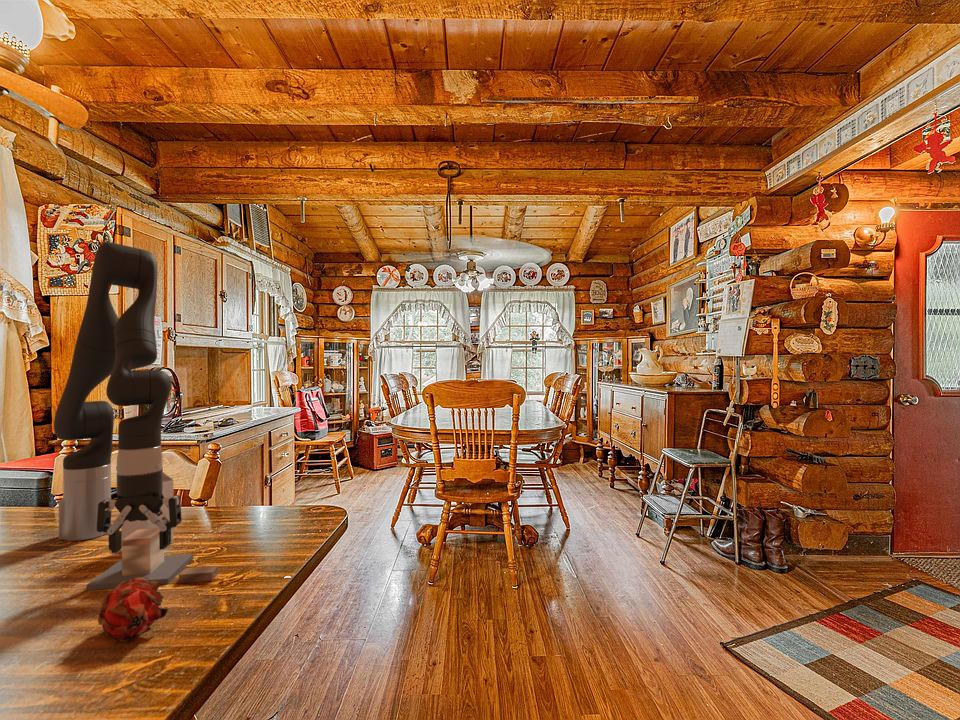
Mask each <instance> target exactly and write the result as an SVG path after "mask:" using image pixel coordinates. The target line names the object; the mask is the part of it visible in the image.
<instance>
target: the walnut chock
mask: <svg viewBox="0 0 960 720" xmlns="http://www.w3.org/2000/svg"><path fill="white" fill-rule="evenodd" d="M218 575H219V566H218V565H213V566H212V565H211V566H198V567H196V566H195V567H184V568H183V569H182V570H181V571H180V572H179V573H178V584H186V583H187V584H188V583H200V582H209V581H210V582H211V581H214V579H215V578H216V577H217V576H218Z"/></svg>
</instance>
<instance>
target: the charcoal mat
mask: <svg viewBox="0 0 960 720" xmlns="http://www.w3.org/2000/svg"><path fill="white" fill-rule="evenodd" d="M193 560H194V553H189V554H188V553H185V554H173V555H172V554H171V555H164V562H162V563H161V564H160V565H159V566H158V567H157V568H156V569H155V570H154V571H152V572H151V573H149V574H137V575H125V576H122V558H121V559H120V560H118V561H117V562H115V563H114V564H113V565H112V566H110V567H108V568H107V569H106V570H104V572H103V573H101V574H99V575H98V576H96V577H95V578H94V579H93V580H91V581H90V582H88V583H87V584H86V585H85V587H86V589H85V590H86V591H94V590H96V591H97V590H107V589H115V588H116V587H117V586H118V585H119V584H120V583H122V582H125V581H128V580H133V579H135V578H138V577H142V578H145V579H146V580H147V581H157V582H158V583H159V584H160V585H167V584H170V582H172V581H173V580H174V578H175V577H176V576H178V575H179V574H180V573H181V572H182V571H183V570H184V569H185V568H186V567H187V565H189V564H190V562H192V561H193Z"/></svg>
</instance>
